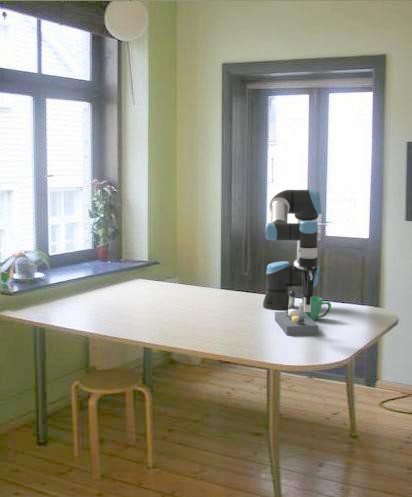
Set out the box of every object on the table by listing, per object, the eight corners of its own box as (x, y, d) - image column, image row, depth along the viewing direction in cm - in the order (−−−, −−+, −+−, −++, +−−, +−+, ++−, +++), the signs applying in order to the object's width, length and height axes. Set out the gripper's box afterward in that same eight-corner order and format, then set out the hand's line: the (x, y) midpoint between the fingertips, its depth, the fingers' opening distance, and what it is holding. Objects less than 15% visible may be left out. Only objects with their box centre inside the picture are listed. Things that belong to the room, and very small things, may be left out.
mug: (298, 319, 347) (298, 299, 345) (306, 315, 355) (307, 295, 353) (326, 323, 339) (327, 302, 337) (334, 319, 347) (335, 299, 345)
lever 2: (296, 319, 323) (298, 299, 318) (303, 319, 323) (305, 298, 318) (298, 323, 320) (300, 302, 315) (304, 323, 321) (307, 302, 315)
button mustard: (290, 324, 331) (290, 316, 331) (301, 324, 332) (301, 315, 331) (292, 327, 326) (292, 318, 326) (303, 326, 327) (303, 318, 326)
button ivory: (287, 317, 339) (287, 309, 338) (297, 317, 339) (297, 308, 338) (289, 319, 334) (289, 311, 333) (300, 319, 334) (300, 311, 334)
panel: (274, 320, 345) (274, 311, 345) (303, 319, 347) (303, 310, 346) (286, 335, 318) (287, 325, 317) (318, 334, 319) (318, 325, 319)
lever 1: (286, 309, 344) (288, 289, 338) (293, 309, 344) (295, 289, 339) (288, 312, 341) (290, 293, 336) (294, 312, 341) (296, 292, 336)
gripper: (296, 255, 312) (295, 308, 315) (303, 259, 299) (302, 315, 302) (313, 255, 312) (312, 308, 315) (320, 259, 299) (319, 314, 303)
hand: (307, 311), depth 309 cm, fingers closed
